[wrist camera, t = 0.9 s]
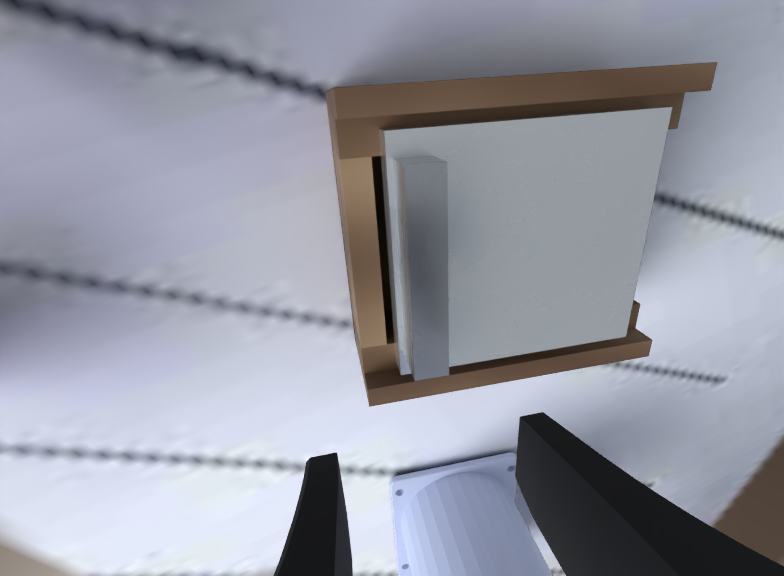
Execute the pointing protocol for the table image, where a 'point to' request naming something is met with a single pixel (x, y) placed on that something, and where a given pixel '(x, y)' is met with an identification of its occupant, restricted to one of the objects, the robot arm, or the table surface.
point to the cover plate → (516, 232)
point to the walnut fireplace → (451, 105)
